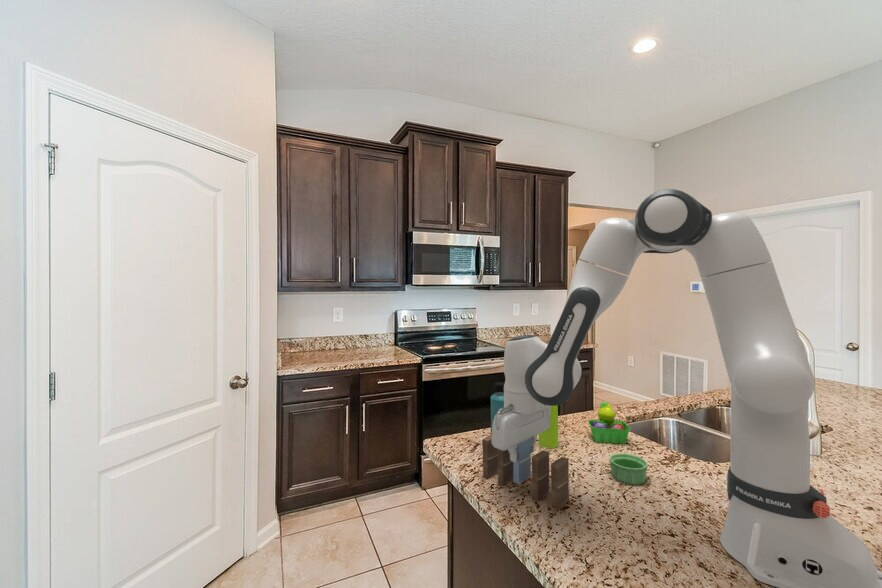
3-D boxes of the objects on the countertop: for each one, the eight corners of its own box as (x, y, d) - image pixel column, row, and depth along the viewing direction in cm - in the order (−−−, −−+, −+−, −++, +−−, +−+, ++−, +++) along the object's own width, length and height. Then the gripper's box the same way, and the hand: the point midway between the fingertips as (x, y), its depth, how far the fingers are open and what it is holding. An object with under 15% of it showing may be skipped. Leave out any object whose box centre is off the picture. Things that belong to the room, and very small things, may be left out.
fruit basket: (591, 443, 121) (591, 408, 121) (587, 433, 129) (587, 399, 129) (630, 446, 118) (630, 409, 118) (623, 435, 127) (623, 401, 127)
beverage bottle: (515, 445, 120) (514, 381, 120) (506, 453, 115) (506, 386, 114) (496, 441, 124) (495, 379, 123) (487, 448, 118) (486, 384, 118)
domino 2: (515, 478, 99) (514, 440, 99) (503, 486, 96) (502, 446, 95) (509, 476, 100) (509, 438, 100) (498, 483, 97) (497, 444, 97)
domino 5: (568, 501, 88) (568, 458, 88) (557, 510, 85) (557, 465, 85) (562, 499, 89) (562, 456, 89) (551, 507, 86) (550, 463, 86)
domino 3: (530, 476, 96) (530, 437, 95) (519, 483, 92) (518, 442, 92) (525, 474, 97) (525, 435, 97) (513, 481, 93) (513, 440, 93)
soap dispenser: (562, 449, 117) (562, 384, 116) (539, 447, 118) (538, 383, 118) (560, 441, 122) (560, 379, 122) (538, 440, 124) (537, 378, 123)
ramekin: (604, 478, 99) (604, 461, 99) (616, 466, 106) (616, 450, 106) (641, 490, 93) (641, 472, 93) (652, 476, 99) (652, 459, 99)
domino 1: (499, 472, 103) (499, 435, 103) (487, 479, 99) (487, 440, 99) (494, 470, 104) (494, 433, 104) (482, 476, 100) (482, 439, 100)
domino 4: (549, 493, 92) (549, 452, 92) (538, 501, 88) (537, 458, 88) (543, 491, 93) (543, 450, 93) (532, 499, 90) (531, 456, 89)
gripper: (506, 413, 85) (507, 475, 85) (554, 395, 99) (555, 448, 99) (484, 407, 89) (485, 466, 89) (533, 390, 103) (533, 441, 104)
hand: (522, 456), depth 94 cm, fingers closed on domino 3, 5 cm apart
